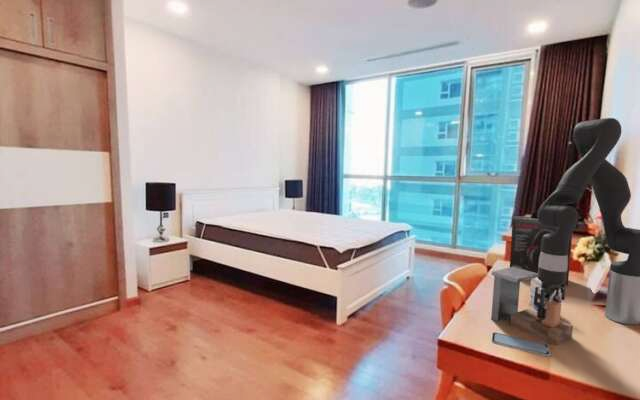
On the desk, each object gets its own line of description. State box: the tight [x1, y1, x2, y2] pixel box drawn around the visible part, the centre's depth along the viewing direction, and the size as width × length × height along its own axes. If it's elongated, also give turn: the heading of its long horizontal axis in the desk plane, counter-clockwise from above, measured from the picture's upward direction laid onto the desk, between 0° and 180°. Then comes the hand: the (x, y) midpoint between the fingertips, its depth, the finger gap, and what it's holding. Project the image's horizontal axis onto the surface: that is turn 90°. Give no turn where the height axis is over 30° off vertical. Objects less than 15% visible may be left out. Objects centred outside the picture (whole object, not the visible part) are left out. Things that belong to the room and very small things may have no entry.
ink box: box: [528, 277, 542, 311], centre depth 128 cm, size 9×5×12 cm, turn 168°
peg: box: [542, 301, 562, 328], centre depth 107 cm, size 4×4×11 cm
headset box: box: [509, 211, 573, 286], centre depth 164 cm, size 25×12×33 cm, turn 54°
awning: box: [490, 266, 538, 323], centre depth 117 cm, size 13×9×17 cm
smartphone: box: [490, 332, 551, 357], centre depth 101 cm, size 7×1×15 cm
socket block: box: [509, 308, 574, 346], centre depth 109 cm, size 10×14×4 cm
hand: (548, 315), depth 107 cm, fingers open, 8 cm apart
